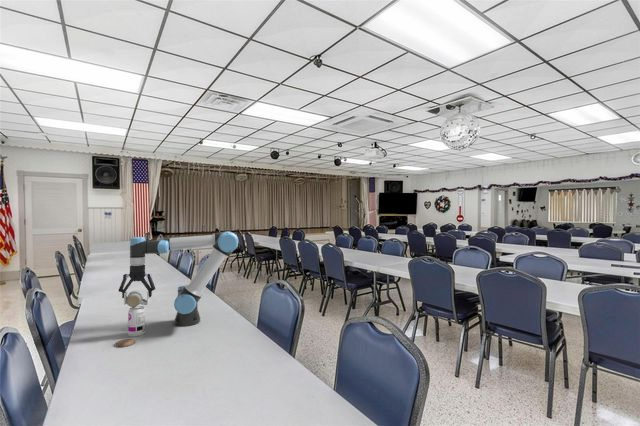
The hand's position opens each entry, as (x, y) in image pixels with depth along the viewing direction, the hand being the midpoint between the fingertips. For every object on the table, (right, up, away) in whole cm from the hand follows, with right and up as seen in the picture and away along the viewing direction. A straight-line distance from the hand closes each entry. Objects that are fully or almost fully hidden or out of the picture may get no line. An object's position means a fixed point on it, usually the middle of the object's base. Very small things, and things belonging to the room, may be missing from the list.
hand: (137, 303), depth 178 cm
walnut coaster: (+2, -17, -13) cm, 22 cm away
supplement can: (0, -18, 0) cm, 18 cm away
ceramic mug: (0, -1, 0) cm, 1 cm away
